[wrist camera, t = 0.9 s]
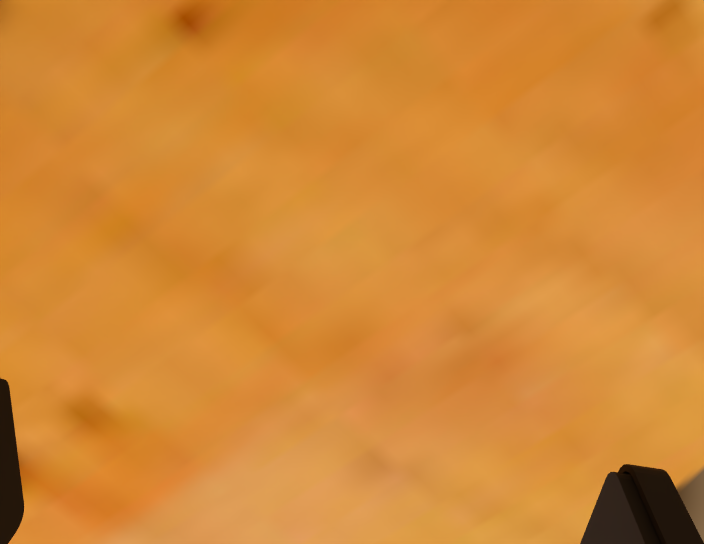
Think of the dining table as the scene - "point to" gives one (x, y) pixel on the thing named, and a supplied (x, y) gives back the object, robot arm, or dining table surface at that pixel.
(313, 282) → the dining table surface
